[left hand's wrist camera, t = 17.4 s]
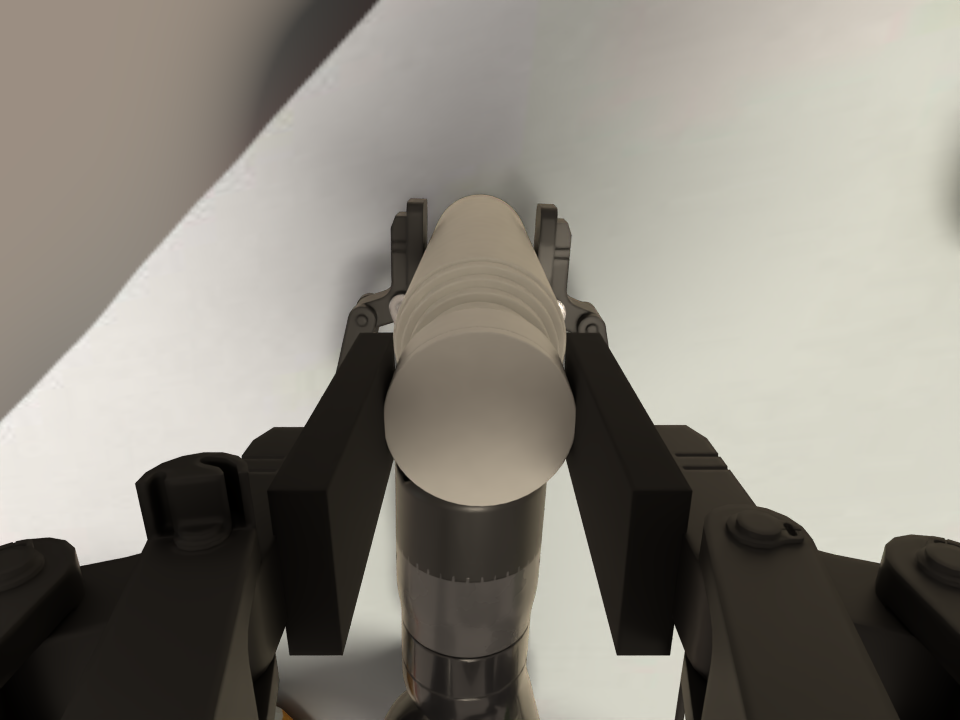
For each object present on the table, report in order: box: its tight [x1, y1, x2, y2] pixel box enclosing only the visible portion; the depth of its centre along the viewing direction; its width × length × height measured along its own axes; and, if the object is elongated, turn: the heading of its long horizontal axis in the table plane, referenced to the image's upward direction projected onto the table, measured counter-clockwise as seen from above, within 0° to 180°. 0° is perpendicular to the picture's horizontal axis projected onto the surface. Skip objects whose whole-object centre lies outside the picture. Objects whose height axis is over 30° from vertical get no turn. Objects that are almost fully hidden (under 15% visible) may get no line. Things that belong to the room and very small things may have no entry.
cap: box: [384, 308, 576, 506], centre depth 14 cm, size 4×4×2 cm
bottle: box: [393, 195, 566, 363], centre depth 23 cm, size 5×5×22 cm
